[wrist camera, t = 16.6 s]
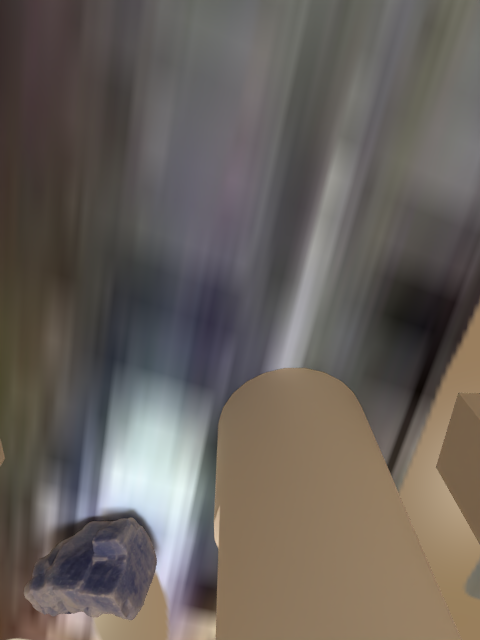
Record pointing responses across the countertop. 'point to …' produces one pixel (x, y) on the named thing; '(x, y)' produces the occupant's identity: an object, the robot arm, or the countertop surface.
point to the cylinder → (314, 522)
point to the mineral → (95, 572)
